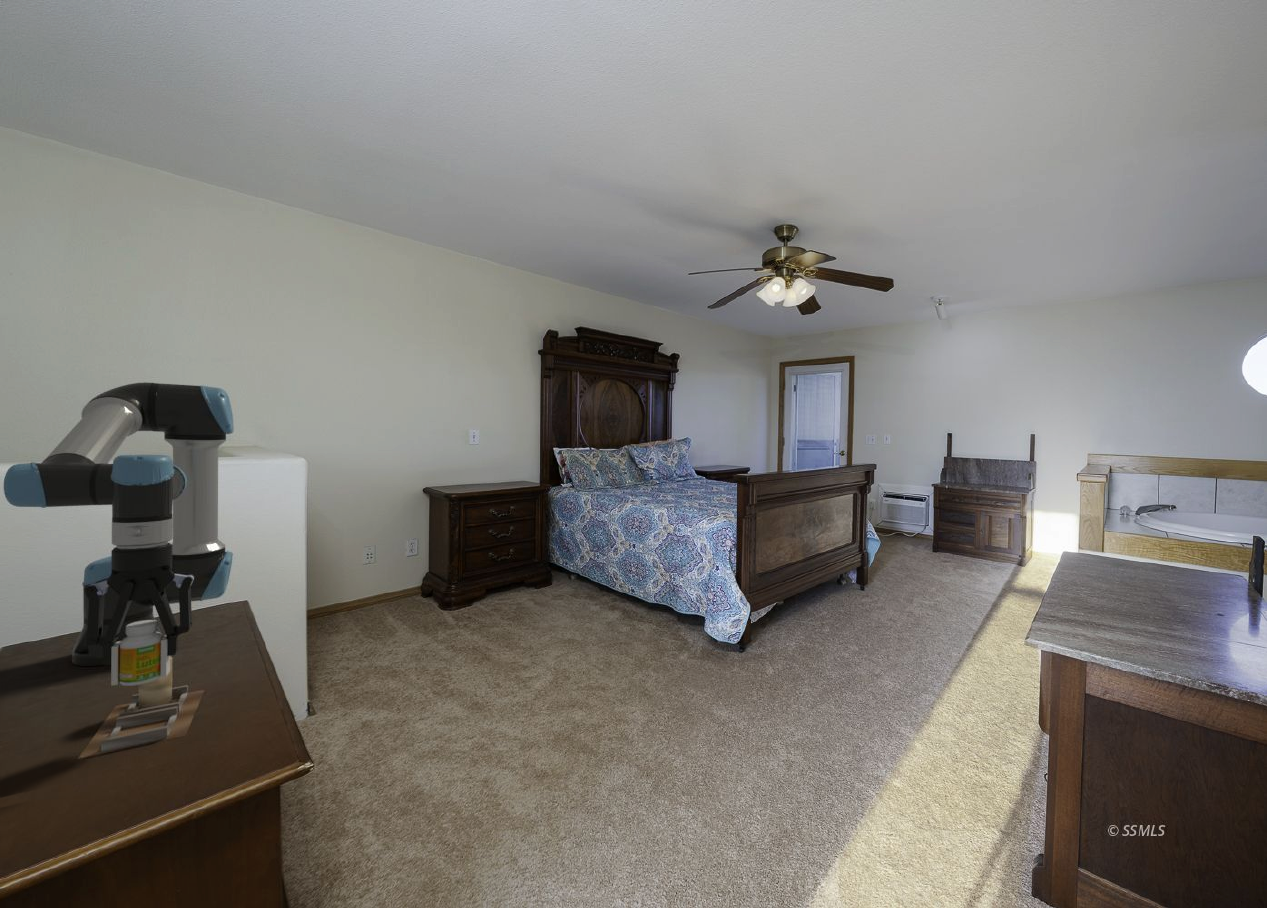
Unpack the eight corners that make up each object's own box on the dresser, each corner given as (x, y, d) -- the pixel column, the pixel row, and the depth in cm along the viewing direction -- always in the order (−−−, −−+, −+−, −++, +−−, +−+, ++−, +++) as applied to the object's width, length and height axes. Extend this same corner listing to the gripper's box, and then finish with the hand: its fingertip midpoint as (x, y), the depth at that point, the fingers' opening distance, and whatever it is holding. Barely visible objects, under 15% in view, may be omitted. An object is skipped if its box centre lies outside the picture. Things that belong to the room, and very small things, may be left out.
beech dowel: (142, 705, 96) (142, 659, 96) (174, 700, 98) (174, 654, 98) (135, 717, 92) (135, 669, 92) (168, 711, 94) (169, 663, 94)
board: (115, 712, 96) (115, 696, 95) (204, 695, 103) (204, 681, 102) (77, 766, 80) (77, 747, 80) (185, 742, 87) (185, 725, 87)
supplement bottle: (135, 688, 84) (135, 630, 84) (110, 684, 85) (110, 627, 85) (171, 674, 89) (171, 619, 89) (147, 670, 90) (147, 616, 90)
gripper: (55, 553, 78) (54, 700, 79) (208, 544, 88) (206, 674, 89) (74, 544, 85) (73, 681, 85) (215, 536, 95) (214, 658, 95)
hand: (141, 677), depth 87 cm, fingers closed on supplement bottle, 5 cm apart
